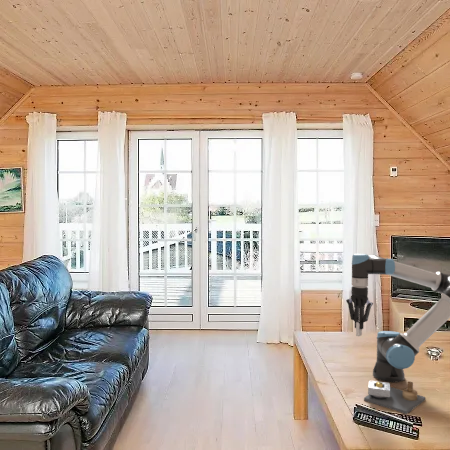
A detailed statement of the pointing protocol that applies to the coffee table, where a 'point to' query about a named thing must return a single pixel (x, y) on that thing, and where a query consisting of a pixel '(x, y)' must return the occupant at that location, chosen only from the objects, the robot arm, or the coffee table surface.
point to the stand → (410, 392)
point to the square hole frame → (379, 389)
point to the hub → (379, 384)
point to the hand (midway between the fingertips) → (358, 335)
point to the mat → (396, 401)
